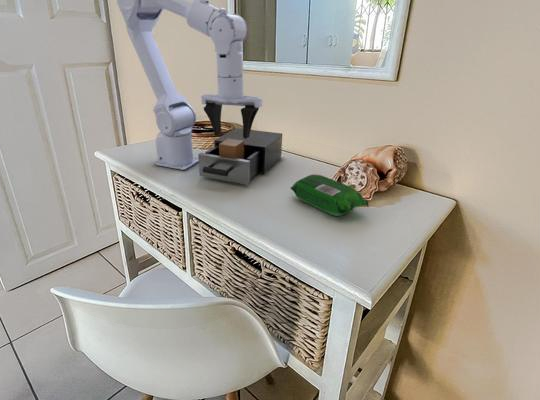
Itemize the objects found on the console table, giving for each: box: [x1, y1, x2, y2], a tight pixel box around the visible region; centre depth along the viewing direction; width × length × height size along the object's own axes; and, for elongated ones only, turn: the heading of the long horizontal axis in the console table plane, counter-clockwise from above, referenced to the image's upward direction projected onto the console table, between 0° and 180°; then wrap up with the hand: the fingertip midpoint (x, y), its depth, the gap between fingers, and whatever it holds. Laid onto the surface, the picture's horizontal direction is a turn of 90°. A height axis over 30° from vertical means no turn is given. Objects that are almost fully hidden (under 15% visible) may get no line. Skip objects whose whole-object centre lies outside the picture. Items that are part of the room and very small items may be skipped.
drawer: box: [197, 144, 263, 186], centre depth 82 cm, size 17×13×6 cm
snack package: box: [290, 173, 369, 217], centre depth 69 cm, size 7×16×5 cm, turn 35°
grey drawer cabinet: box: [213, 127, 283, 176], centre depth 92 cm, size 13×14×7 cm
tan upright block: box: [219, 139, 244, 160], centre depth 82 cm, size 4×5×7 cm
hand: (231, 135), depth 80 cm, fingers open, 7 cm apart
